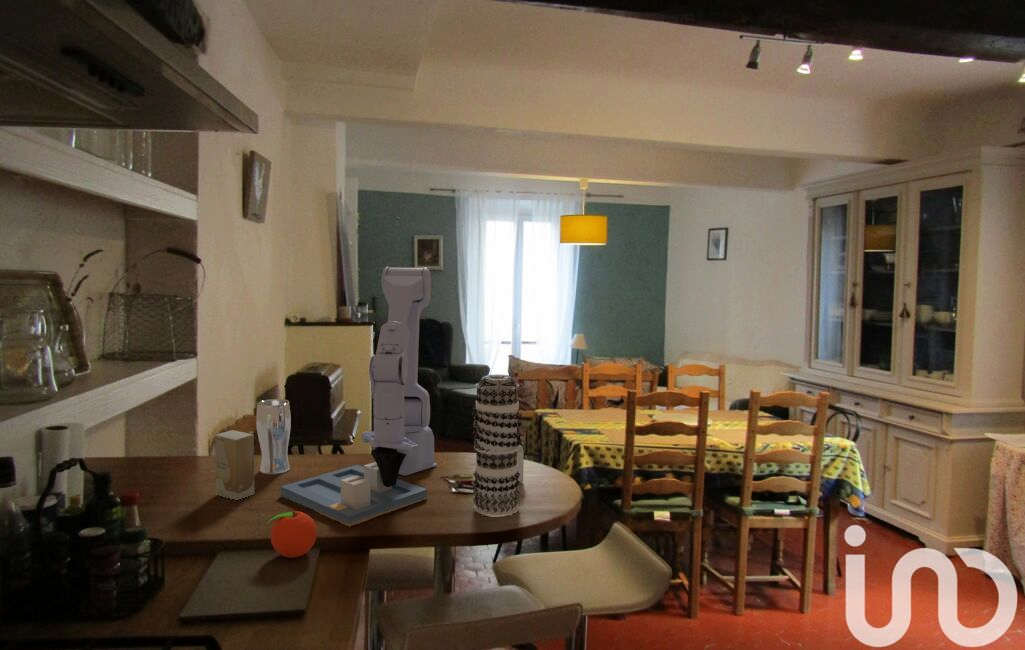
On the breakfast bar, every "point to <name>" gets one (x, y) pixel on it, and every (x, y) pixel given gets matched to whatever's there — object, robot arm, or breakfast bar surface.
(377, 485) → the white block
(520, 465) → the white rounded block
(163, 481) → the breakfast bar surface
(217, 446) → the skincare box
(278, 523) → the clementine
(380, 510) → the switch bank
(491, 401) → the decorative candle
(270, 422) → the beer glass
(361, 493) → the white striped block
